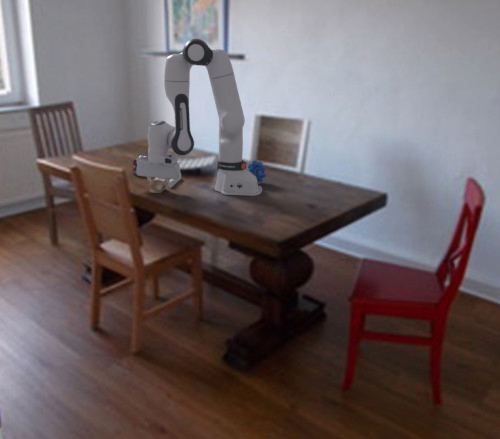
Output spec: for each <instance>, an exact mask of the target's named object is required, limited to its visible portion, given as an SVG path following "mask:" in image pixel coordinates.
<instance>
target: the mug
mask: <svg viewBox="0 0 500 439" xmlns="http://www.w3.org/2000/svg"><path fill="white" fill-rule="evenodd" d="M136 171H137V161H136V159H134V160H132V174H133V175H134V176H138V175H137V173H136Z"/></svg>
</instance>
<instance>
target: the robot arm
mask: <svg viewBox="0 0 500 439" xmlns="http://www.w3.org/2000/svg"><path fill="white" fill-rule="evenodd" d="M193 66H202V67H205V69H206V70H207V73H208V74H207V75H208V79H209V82H210V86H211V90H212V94H213V100H214V103H215V107H216V112H217V116H218V158H217V161H216V162H217V163H216V170H217V176H216V181H215V185H214V190H215V191H216V192H219V193H221V194H222V195H224V196H225V195H227V196H229V195H230V196H250V197H256V196H258V195H260V194H261V193H262V192H263V188H262V186H261V185H259V184H258V183H259V182H258V183H257V178H256V176H255V175H253V174H252V173H251V172H250V171H249V170H250V169H248V168H247V161H245V160H243V149H244V146H243V145H244V141H243V140H244V134H243V133H244V132H243V131H244V127H245V126H244V125H245V121H246V120H245V114H244V110H243V106H242V102H241V98H240V94H239V89H238V85H237V82H236V76H235V72H234V69H233V68H234V67H233V64H232V63H231V59H230V57H229V55H228V52H227V51H225V50H224V49H221V48H216V49H211V48H210V46H209V44H207V42H206V41H205V40H204V39H202V38H199V37H192V38H189V39H188V40H187V41H186V42H185V43H184V45H183V48H182V50H181V52H180V53H172V54H169V55H168V56H167V58H166V61H165V66H164V75H163V76H164V80H163V81H164V91H165V95H166V98H167V99H168V101H169V103H170V104H171V106H172V109H173V112H174V124H175V125H174V126H173V125H172V124H169V123H168V122H166V121H164V120H156V121H153V122H151V123H150V124H149V125H148V128H147V144H148V149H147V155H139V156H137V157H136V159H135V160H136V161H137V171H136V173H137V175H138V176H139V177H146V178H147V181H148V182H149V183H150V182H151V181H153V180H152V178H165V180H167V181H165V183H163V187H165V188H167V187H168V184H169V182H168V181H169V180H170V179H178V178H179V177H180V173H181V167H180V163H179V162H178V161H179V157H178V156H186V155H188V154H190V153H191V152H192V151H193V149H194V147H195V141H194V137H193V136H192V135H193V134H192V131H191V122H190V121H191V120H190V84H191V81H190V80H191V78H190V77H191V76H190V74H191V70H192V67H193ZM169 149H171V150H172V151H173V152H174V153H175V154H176V155H175V154H173V153H170V152H169ZM177 155H178V156H177Z"/></svg>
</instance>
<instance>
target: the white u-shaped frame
mask: <svg viewBox="0 0 500 439" xmlns="http://www.w3.org/2000/svg"><path fill="white" fill-rule="evenodd" d="M154 179H164V180H165V178H157V177H154ZM181 179H182V172H180V177H179V178H178V179H170V180H169V181H168V188H169V189H171V188H173V186H175V185H176V184H177V183H178V182H180V180H181ZM166 181H167V180H165V182H166Z"/></svg>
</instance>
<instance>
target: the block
mask: <svg viewBox="0 0 500 439" xmlns="http://www.w3.org/2000/svg"><path fill="white" fill-rule="evenodd" d="M165 182H166V181H165V180H164V179H155V178H154V179H153V180H152V181H151V182H149V193H152V194H153V193H154V194H155V193H156V194H161V193H162V192H164V191H165V190H166V187H163V183H165Z"/></svg>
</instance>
